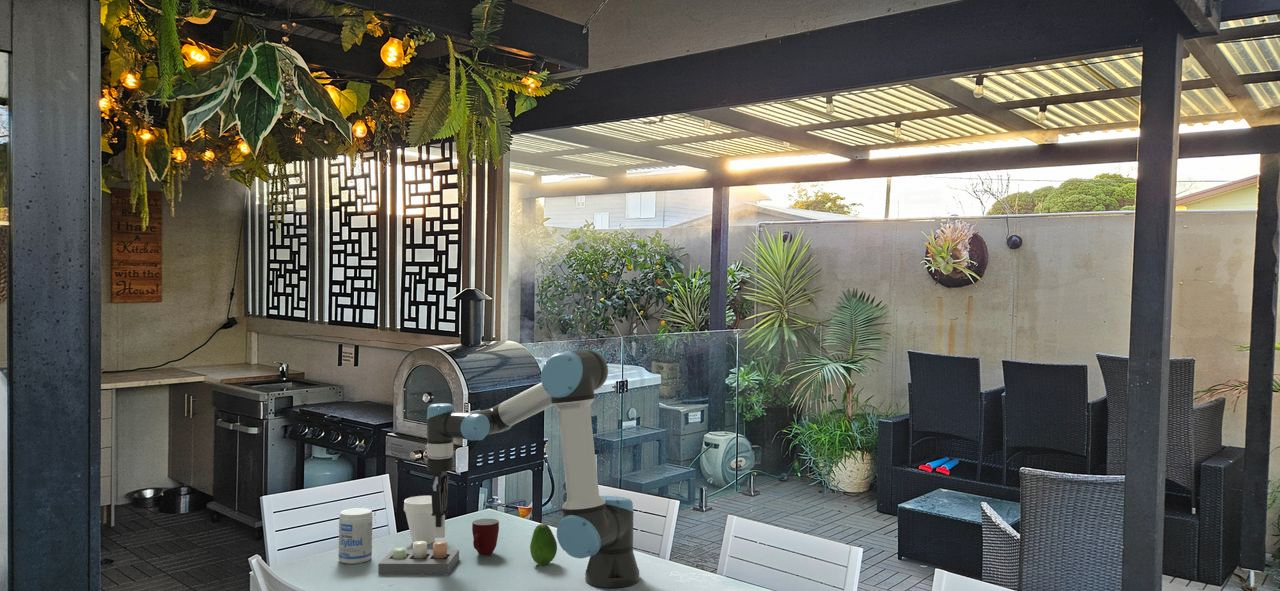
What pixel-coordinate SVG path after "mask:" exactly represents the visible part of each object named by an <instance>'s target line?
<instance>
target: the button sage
mask: <svg viewBox="0 0 1280 591" xmlns="http://www.w3.org/2000/svg"><path fill="white" fill-rule="evenodd" d="M392 550H393V559H406V558H407V550H408V548H406V547H395V548H393V549H392Z"/></svg>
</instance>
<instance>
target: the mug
mask: <svg viewBox="0 0 1280 591" xmlns="http://www.w3.org/2000/svg"><path fill="white" fill-rule="evenodd" d="M471 524H472V525H471V526H472V529H471V530H472V531H471V532H472V538H473V543H472V544H473V548H474V550H476V552H477V553H478V555H479V556H481V557H488V556H491V555H493V553H494V551H495V549H496V547H497V543H498V537H499V530H500V521H499V520H498V519H495V518H480V519H479V518H478V519H476V520H473V521H472V523H471Z"/></svg>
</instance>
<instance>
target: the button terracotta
mask: <svg viewBox="0 0 1280 591" xmlns="http://www.w3.org/2000/svg"><path fill="white" fill-rule="evenodd" d="M432 550H433V558H436V559H441V558H446V557H447V550H448V542H447V541H445V540H438V541H434V542H433V543H432Z"/></svg>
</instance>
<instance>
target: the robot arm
mask: <svg viewBox="0 0 1280 591" xmlns="http://www.w3.org/2000/svg"><path fill="white" fill-rule="evenodd" d="M608 375H609V366H608V363H607V361H606V359H605V358H604V356H603V355H602V354H600V353H599V352H598V351H595V350H591V349H582V350H571V351H566V350H565V351H561V352H559V353H555V354H553V355H551V356H550V357H548V359H547V360H546V362H545V363H544V364H543V366H542V370H541V374H540V381H541V382H540V383H538V384H535V385H533V386H531V387H530V388H528V389H526V390H523V391H522V392H519V393H518V394H516V395H514V396H513V397H510V398H508V399H507V400H504V401H502V402H501V403H499V404H497V405H495V406H493V407H490V408H487V409H482V410H475V411H471V412H459V411H454V404H452V403H443V402H441V403H432V404H429V405H428V407H427V412H426V437H427V438H426V444H425V446H424V447H425V449H427V450H426V456H427V458H426V471H428V472H432V473H433V475H432V476H433V477H431V484H430V485H429V488H430V494H431V495H430V496H431V497H432V516H435V524H434V538H435V539H444V538H445V537H446V514H448V513H449V511H448V510H447V509H448V494H449V492H448V491H449V481H450V477H449V476H448V475H447V474H448V473H447V472H450V471H452V470H453V469H454V457H453V455H454V439H459V440H461V439H462V440H467V441H472V442H473V441H483V440H484V439H485V438H486V437H487V436H489V435H494V434H501V433H504V432H506V431H508V430H510V429H511V428H512V427H513V426H514V425H516V424H518V423H520V422H521V421H524V420H526V419H528V418H530V417H532V416H535V415H536V414H538V413H540V412H542V411H544V410H547V409H549V408H550V407H552V406H553V407H555V409H557V412H558V413H557V414H558V422H559V432H560V433H559V434H560V441H561V442H560V443H561V451H562V453H561V454H562V460H563V462H562V463H563V472H564V479H565V481H564V482H565V490H566V501H565V502H564V503H563V504H562V506H561V508H562V518H561V520H560V521H559V523H558V525H557V527H556V538H557V542H558V544H559V546H560V548H561V549H562V550H563V551H564V552H566V554H567V555H568V556H570V557H572V558H574V559H585V558H588V557H589V559H588V563H587V567H586V569H585V572H584V573H585V577H584V578H585V582H586V583H587V584H588V585H591V586H595V587H597V588H606V589H607V588H609V589H615V588H617V589H619V588H624V587H629V586H632V585H633V586H634V585H635V584H637V583H638V582H639V581H640V569H639V567H638V563H637V560H636V557H635V553H634V513H635V511H634V505H633V504H634V502H633V500H632V499H631V498H628V497H624V496H619V495H618V496H617V495H600V490H599V482H598V481H599V480H598V473H597V470H598V469H597V461H596V453H595V451H596V450H595V443H594V433H593V423H592V422H593V421H592V415H591V405H592V404H593V403H594V401H595V400H596V398H595V391H597V390H598V389H600V388H601V387H602V386H604V384H605V382H606V381H607V378H608Z"/></svg>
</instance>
